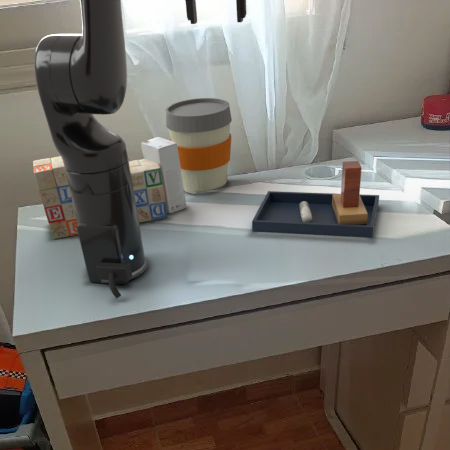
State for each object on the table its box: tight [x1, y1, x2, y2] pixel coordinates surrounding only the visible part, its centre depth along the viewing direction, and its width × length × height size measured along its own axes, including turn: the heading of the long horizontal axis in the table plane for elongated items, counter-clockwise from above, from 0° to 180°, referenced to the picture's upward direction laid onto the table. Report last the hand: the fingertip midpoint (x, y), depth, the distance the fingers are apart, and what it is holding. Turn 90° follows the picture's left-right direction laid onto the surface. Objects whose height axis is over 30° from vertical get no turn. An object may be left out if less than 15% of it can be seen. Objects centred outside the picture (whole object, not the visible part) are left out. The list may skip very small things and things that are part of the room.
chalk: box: [299, 201, 312, 223], centre depth 106 cm, size 7×2×2 cm, turn 0°
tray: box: [251, 190, 380, 239], centre depth 106 cm, size 13×20×3 cm, turn 75°
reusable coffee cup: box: [165, 97, 233, 195], centre depth 119 cm, size 13×13×15 cm
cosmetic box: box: [140, 136, 187, 214], centre depth 112 cm, size 6×4×12 cm
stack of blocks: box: [32, 155, 168, 240], centre depth 109 cm, size 21×6×12 cm, turn 105°
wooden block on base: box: [332, 160, 368, 225], centre depth 102 cm, size 9×5×9 cm, turn 0°
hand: (217, 22), depth 109 cm, fingers open, 8 cm apart
